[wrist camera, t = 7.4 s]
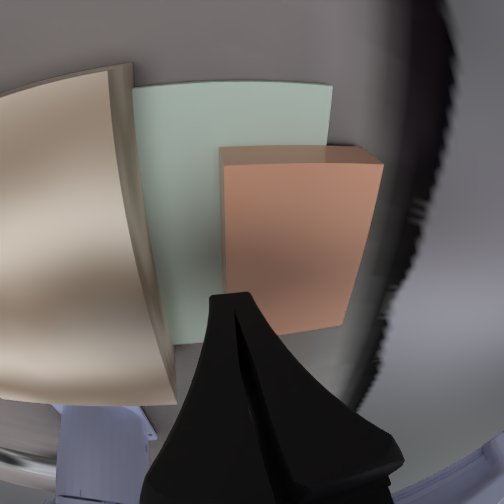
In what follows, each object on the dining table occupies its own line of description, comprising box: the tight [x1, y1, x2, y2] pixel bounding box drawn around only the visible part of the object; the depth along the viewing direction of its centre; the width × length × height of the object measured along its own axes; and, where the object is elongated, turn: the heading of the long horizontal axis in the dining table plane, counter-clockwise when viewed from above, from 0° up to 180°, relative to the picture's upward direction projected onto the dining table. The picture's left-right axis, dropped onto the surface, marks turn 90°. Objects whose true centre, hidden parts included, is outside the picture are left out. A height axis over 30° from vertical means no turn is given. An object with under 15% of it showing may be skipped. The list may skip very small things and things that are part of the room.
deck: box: [0, 62, 177, 406], centre depth 12 cm, size 16×12×4 cm
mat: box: [132, 80, 333, 345], centre depth 15 cm, size 14×8×1 cm, turn 178°
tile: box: [219, 145, 384, 335], centre depth 14 cm, size 9×6×2 cm, turn 179°
